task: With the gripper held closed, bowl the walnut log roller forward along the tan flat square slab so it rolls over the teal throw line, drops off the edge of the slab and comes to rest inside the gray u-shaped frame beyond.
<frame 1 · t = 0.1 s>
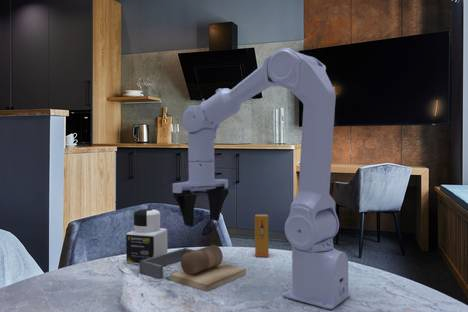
hand: (202, 222, 88), 10 cm above the table, fingers open, 7 cm apart
supplement box: (261, 256, 97), on the table
roller: (202, 259, 82), point 3 cm above the table, tilted 19°, touching tan flat square slab
tan flat square slab: (191, 272, 84), on the table
gray u-shaped frame: (173, 262, 88), on the table
medicine bottle: (147, 261, 94), on the table
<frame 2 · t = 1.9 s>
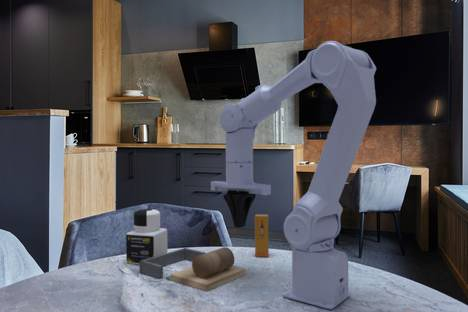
hand: (239, 226, 84), 10 cm above the table, fingers closed
roller: (213, 262, 80), point 3 cm above the table, tilted 102°, touching tan flat square slab
everything else where it was.
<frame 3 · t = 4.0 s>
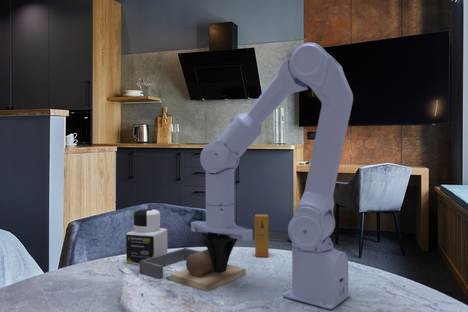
hand: (220, 271, 79), 2 cm above the table, fingers closed
roller: (207, 260, 81), point 3 cm above the table, tilted 59°, touching tan flat square slab
everything else where it was.
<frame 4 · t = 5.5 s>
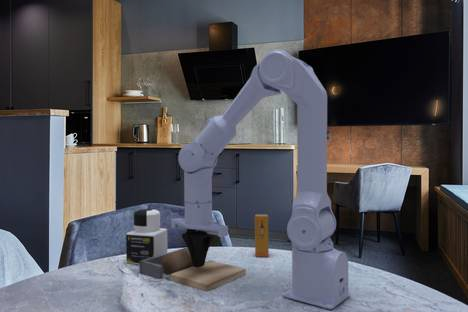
hand: (198, 266, 83), 2 cm above the table, fingers closed
roller: (181, 260, 86), point 2 cm above the table, tilted 135°
everything else where it was.
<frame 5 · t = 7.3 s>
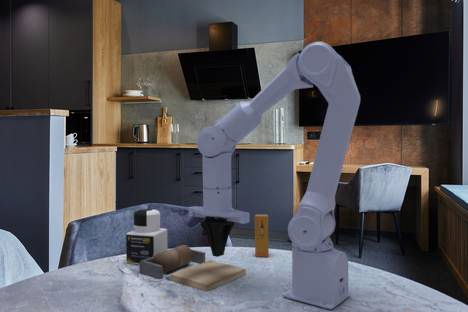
hand: (218, 255, 80), 5 cm above the table, fingers closed
roller: (173, 258, 88), point 2 cm above the table, tilted 75°
everything else where it was.
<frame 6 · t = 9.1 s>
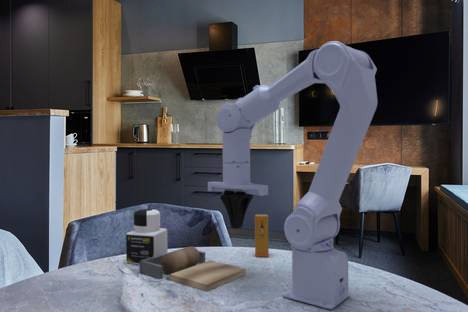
hand: (236, 227, 83), 10 cm above the table, fingers closed
roller: (180, 260, 86), point 2 cm above the table, tilted 132°
everything else where it was.
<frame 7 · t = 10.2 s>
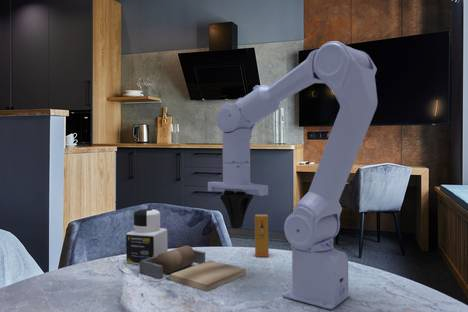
hand: (236, 227, 83), 10 cm above the table, fingers closed
roller: (176, 259, 87), point 2 cm above the table, tilted 95°
everything else where it was.
at the end: roller inside the target area (0.2 cm from its centre), point 2.0 cm above the table; roller moved 7.4 cm from its start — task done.
